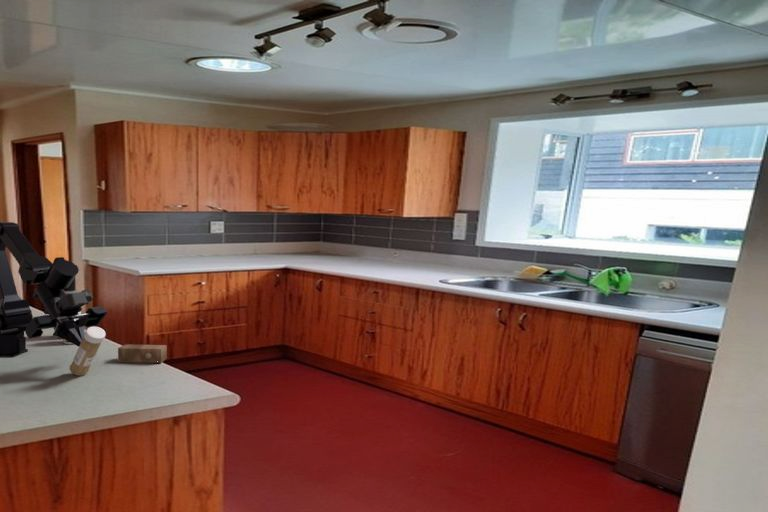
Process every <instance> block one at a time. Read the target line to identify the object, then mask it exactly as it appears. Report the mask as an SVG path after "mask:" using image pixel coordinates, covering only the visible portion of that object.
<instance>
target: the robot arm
mask: <svg viewBox="0 0 768 512" xmlns="http://www.w3.org/2000/svg"><path fill="white" fill-rule="evenodd" d="M6 248H7V250H8V251H9V253H10V254H11V255H12V256H13V258H14V259H15V261H16V262H17V264H18V265H19V266H18V267H19V268H18V270H17V271H18V274H19V276H20V278H21V280H22V281H23V283H24V284H25V285H28V286H30V285H31V286H32V285H37V287H35V288H34V293H33V294H32V299H34V300H35V299H39V300H40V301H41V303H42V306H43V307H44V310H43V314H44V315H38V316H33V313H32V311H33V310H31V307H30V301H28V299H22V298H21V297H20V296H19V295H18V290H17V286H16V284H15V279H14V276H13V272H12V269H11V265H10V262H9V258H8V254H7V250H6ZM79 271H80V270H79V267H78V265H77V264H75V263H74V262H72V261H71V260H67V259H65V258H64V257H62V256H59V257H55V258H54V260H53V262H51V260H50V259H48V258H47V257H45V256H42V255H40V254H39V253H38V252H37V251H36V250H35V249H34V247H33V246H32V244H31V243H30V242H29V240H28V239H27V238H26V236H25V235H24V234H23V233H22V231H21V230H20V225H19V223H16V222H11V221H8V222H7V221H3V222H2V221H0V357H9V358H12V357H16V356H18V355H21V354H23V353H25V352H28V351H29V349H28V348H27V345H26V344H27V343H26V340H27V339H26V336H27V338H28V339H29V340H30V339H31V340H32V339H35V338H40V337H41V336H42V335H43V333H44V331H43V330H47V329H53V330H54V332H53V334H52V336H53V337H58V338H59V337H60V338H59V339H62V338H63V339H65V340H67V341H69V342H71V343H73V344H72V345H74V346H77V347H78V348H79V346H80V344H81V342H82V340H83V338H84V334H85V328H89V327H98V325H99V324H100V323H101V322H102V320H103V319H104V318H105V317H106V316H107V314H108V311H107V310H106V308H105V307H104V306H94V307H88V309H87V310H86V311H85V313H81V314H80V315H78V312H80V311H81V312H82V310H83V308H82V307H83V306H85V305H88V304H89V303H90V302H92V301H93V299H94V298H93V295H92V293H91V291H90V290H89V289H83V290H81V291H79V293H72V294H68V295H66V293H65V292H64V290H63V289H66V288H68V287H69V285H70V284H71V282H72V281H73V279H74V278H75V279H76V276H77V275H78V273H79ZM25 335H26V336H25ZM63 339H62V340H63Z"/></svg>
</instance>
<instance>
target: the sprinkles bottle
mask: <svg viewBox="0 0 768 512" xmlns="http://www.w3.org/2000/svg"><path fill="white" fill-rule="evenodd" d="M84 333H85V334H84V338H83V340H82V342H81V344H80V346H79V347H78V348H77V350H76V353H75V355H74V358H73V360H72V361H71V362H72V363H71V364H70V365H69V371H70V372H71V373H72V374H74V375H76V376H85V375H86V374H88V372H89V371H90V367H91V365H92V363H93V362H94V360H95V357H96V355H97V352H98V351H99V348H100V346H101V344H102V342H104V339H105V337H106V336H107V335H106V334H107V333H106V331H105V330H104V329H103V328H101V327H99V326H92V327H87V328H86V330H85V331H84Z"/></svg>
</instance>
